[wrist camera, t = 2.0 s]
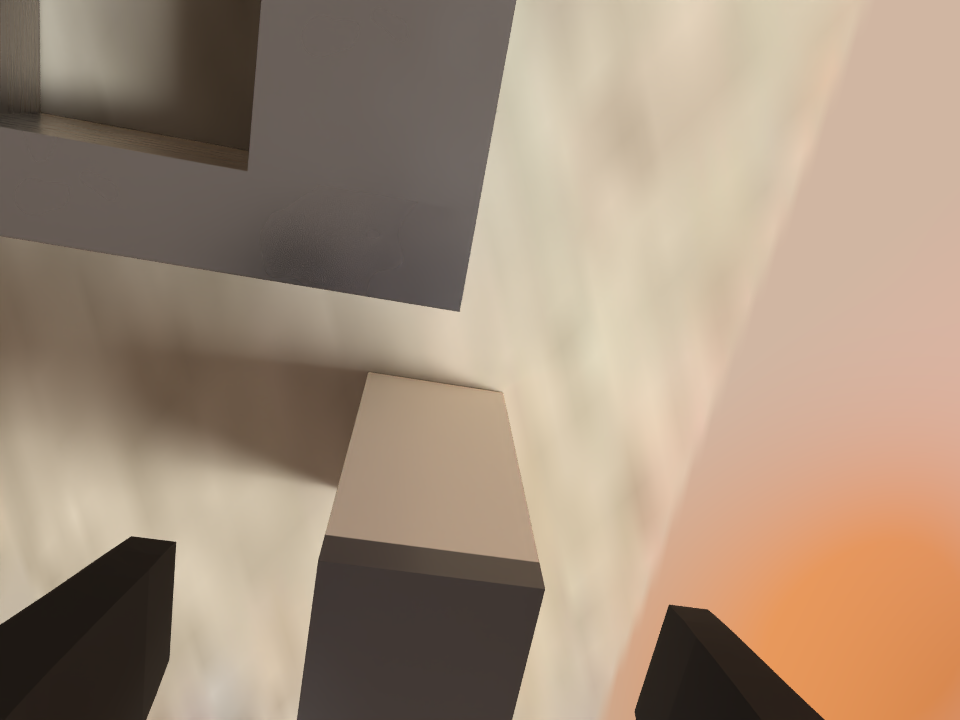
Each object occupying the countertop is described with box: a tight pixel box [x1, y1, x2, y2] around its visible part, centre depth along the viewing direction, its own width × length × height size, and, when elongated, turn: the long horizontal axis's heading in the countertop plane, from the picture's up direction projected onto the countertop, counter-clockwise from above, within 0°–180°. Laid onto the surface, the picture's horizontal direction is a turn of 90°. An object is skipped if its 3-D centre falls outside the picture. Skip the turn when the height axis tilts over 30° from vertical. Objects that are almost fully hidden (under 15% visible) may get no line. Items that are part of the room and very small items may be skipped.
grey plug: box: [297, 372, 545, 720], centre depth 13 cm, size 3×3×7 cm
